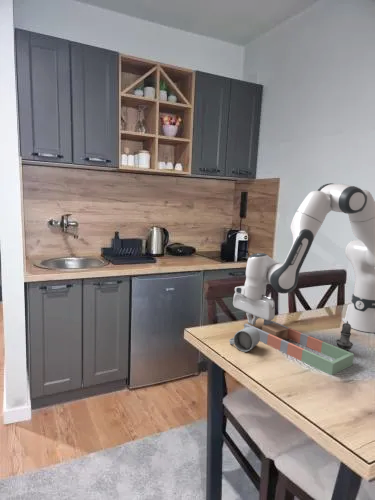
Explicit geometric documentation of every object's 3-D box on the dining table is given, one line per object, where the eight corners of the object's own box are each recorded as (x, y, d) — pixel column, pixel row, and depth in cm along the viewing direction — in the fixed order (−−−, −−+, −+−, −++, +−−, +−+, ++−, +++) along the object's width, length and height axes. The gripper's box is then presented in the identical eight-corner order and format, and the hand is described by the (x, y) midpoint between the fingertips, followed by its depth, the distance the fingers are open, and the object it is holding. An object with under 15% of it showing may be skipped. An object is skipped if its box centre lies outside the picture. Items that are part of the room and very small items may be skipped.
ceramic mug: (260, 346, 128) (262, 327, 127) (252, 354, 121) (253, 333, 120) (234, 339, 133) (235, 320, 132) (225, 346, 127) (226, 326, 125)
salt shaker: (353, 356, 125) (358, 325, 123) (336, 354, 126) (340, 322, 124) (349, 349, 130) (353, 319, 129) (333, 347, 132) (337, 317, 130)
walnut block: (273, 334, 141) (274, 322, 140) (286, 341, 135) (288, 329, 134) (261, 337, 137) (262, 325, 136) (274, 344, 131) (276, 332, 130)
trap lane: (265, 327, 148) (266, 318, 147) (352, 364, 118) (354, 353, 118) (243, 333, 140) (244, 323, 139) (331, 375, 110) (333, 363, 109)
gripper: (280, 297, 136) (276, 330, 139) (242, 285, 152) (239, 315, 154) (269, 299, 133) (266, 333, 135) (232, 286, 148) (229, 317, 151)
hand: (251, 323), depth 145 cm, fingers closed
